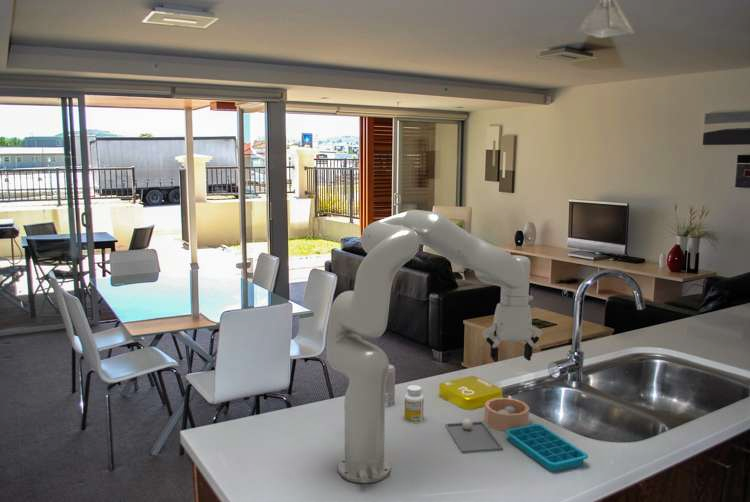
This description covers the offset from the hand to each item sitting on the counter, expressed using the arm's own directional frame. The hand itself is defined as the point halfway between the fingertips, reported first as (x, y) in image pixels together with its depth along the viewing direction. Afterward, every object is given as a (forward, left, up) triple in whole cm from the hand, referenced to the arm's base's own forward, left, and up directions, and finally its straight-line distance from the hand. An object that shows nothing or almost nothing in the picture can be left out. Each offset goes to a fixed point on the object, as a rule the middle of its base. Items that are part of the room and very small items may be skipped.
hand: (510, 359), depth 173 cm
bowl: (-1, +1, -18) cm, 18 cm away
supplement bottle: (+5, +27, -18) cm, 33 cm away
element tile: (+17, +6, -19) cm, 26 cm away
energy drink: (+17, +33, -18) cm, 41 cm away
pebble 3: (0, 0, -18) cm, 18 cm away
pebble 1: (-4, +14, -18) cm, 23 cm away
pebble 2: (-3, +3, -18) cm, 18 cm away
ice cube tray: (-19, -2, -19) cm, 27 cm away
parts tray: (-9, +14, -18) cm, 25 cm away
